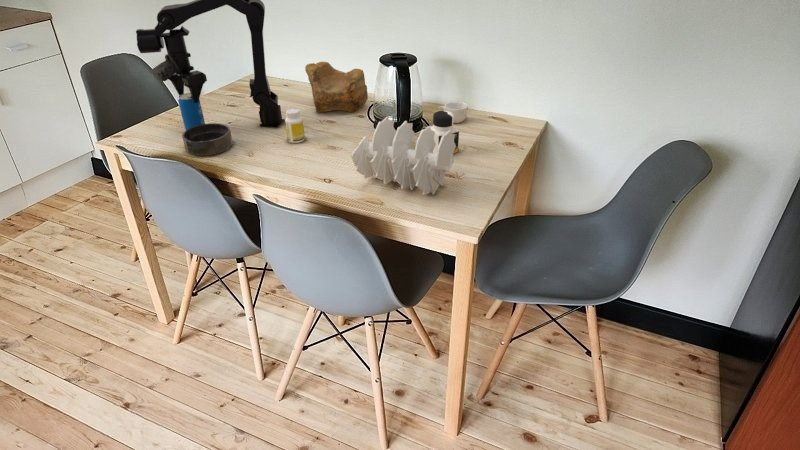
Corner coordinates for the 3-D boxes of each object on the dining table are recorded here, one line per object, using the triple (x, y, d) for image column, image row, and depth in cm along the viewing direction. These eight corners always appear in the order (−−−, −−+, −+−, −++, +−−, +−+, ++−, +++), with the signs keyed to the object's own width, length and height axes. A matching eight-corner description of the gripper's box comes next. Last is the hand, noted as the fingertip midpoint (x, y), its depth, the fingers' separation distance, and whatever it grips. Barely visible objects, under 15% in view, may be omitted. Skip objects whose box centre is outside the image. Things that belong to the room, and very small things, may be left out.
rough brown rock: (293, 114, 191) (286, 74, 181) (315, 95, 203) (310, 56, 193) (351, 125, 184) (348, 84, 174) (371, 104, 196) (369, 65, 186)
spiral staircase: (377, 180, 155) (456, 196, 145) (344, 181, 140) (430, 199, 129) (386, 117, 152) (468, 129, 142) (353, 111, 137) (442, 123, 126)
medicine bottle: (438, 157, 159) (439, 119, 152) (426, 148, 164) (426, 111, 157) (458, 152, 161) (460, 114, 155) (446, 143, 167) (447, 106, 160)
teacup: (469, 118, 184) (470, 103, 181) (463, 126, 178) (464, 111, 175) (442, 114, 187) (442, 99, 184) (434, 122, 181) (435, 107, 178)
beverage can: (200, 135, 175) (191, 100, 168) (182, 133, 176) (173, 98, 169) (209, 127, 180) (202, 93, 173) (192, 126, 181) (184, 91, 174)
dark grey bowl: (240, 139, 171) (238, 124, 169) (219, 159, 160) (216, 143, 157) (200, 136, 174) (197, 121, 171) (176, 155, 162) (172, 140, 160)
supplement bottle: (308, 138, 172) (304, 109, 166) (298, 144, 167) (294, 115, 162) (294, 135, 173) (290, 106, 168) (284, 141, 169) (280, 112, 164)
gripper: (137, 51, 164) (151, 100, 172) (167, 62, 153) (180, 113, 162) (171, 43, 170) (183, 90, 179) (202, 53, 160) (213, 103, 169)
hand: (189, 99), depth 172 cm, fingers open, 9 cm apart
